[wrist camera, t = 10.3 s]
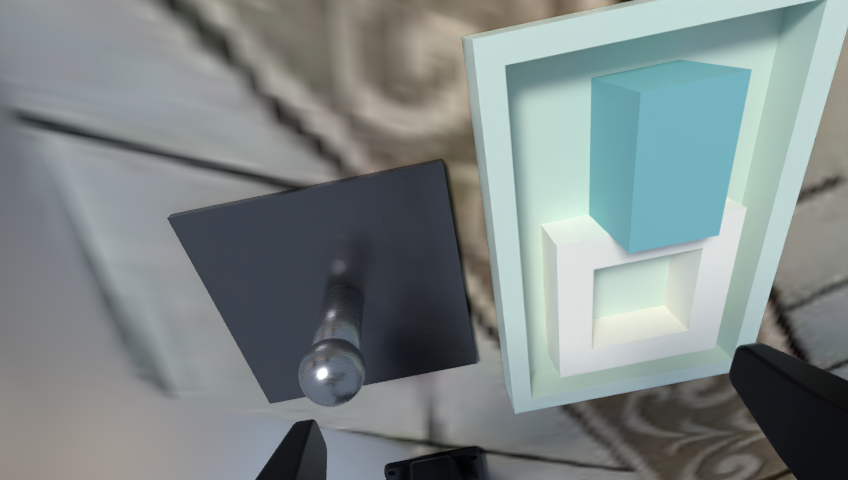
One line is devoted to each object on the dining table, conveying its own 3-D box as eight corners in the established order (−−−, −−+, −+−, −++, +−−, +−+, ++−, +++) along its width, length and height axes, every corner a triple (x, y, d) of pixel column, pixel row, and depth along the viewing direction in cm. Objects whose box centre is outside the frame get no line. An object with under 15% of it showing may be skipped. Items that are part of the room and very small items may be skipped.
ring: (689, 322, 22) (737, 370, 19) (546, 350, 23) (572, 401, 20) (738, 47, 16) (823, 54, 13) (534, 89, 16) (569, 106, 13)
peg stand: (475, 357, 23) (502, 463, 18) (271, 397, 23) (236, 514, 18) (441, 158, 17) (467, 223, 12) (171, 214, 18) (74, 302, 12)
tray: (718, 341, 24) (747, 369, 22) (504, 382, 24) (514, 414, 23) (806, -36, 15) (868, -44, 13) (461, 36, 15) (472, 39, 13)
